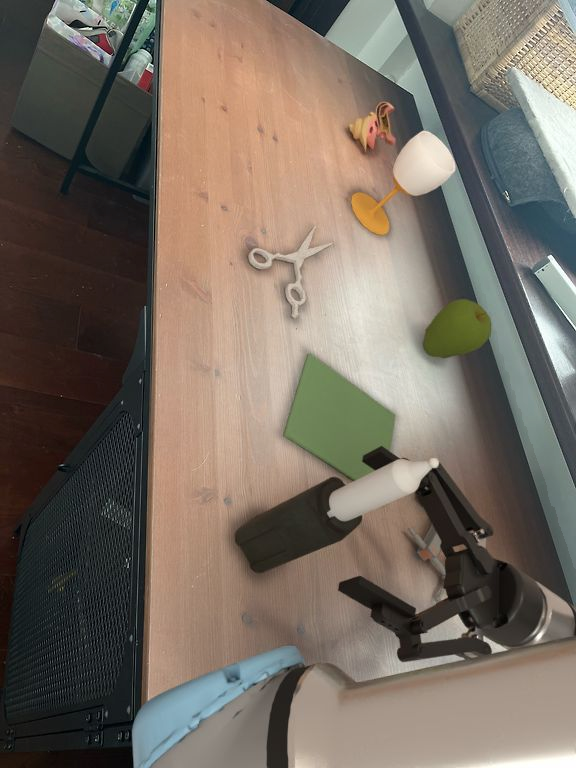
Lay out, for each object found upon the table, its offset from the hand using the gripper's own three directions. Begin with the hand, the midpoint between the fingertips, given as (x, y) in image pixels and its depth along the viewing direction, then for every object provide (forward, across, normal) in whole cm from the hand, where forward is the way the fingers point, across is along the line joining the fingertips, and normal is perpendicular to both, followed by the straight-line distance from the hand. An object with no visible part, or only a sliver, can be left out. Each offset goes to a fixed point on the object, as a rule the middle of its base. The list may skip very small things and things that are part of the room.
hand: (360, 513), depth 56 cm
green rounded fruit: (-18, +46, -14) cm, 51 cm away
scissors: (+9, +43, -14) cm, 46 cm away
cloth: (-5, +21, -14) cm, 26 cm away
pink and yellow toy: (+4, +87, -14) cm, 88 cm away
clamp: (-22, +13, -14) cm, 29 cm away
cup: (-1, +67, -14) cm, 68 cm away
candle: (+2, 0, -14) cm, 14 cm away
